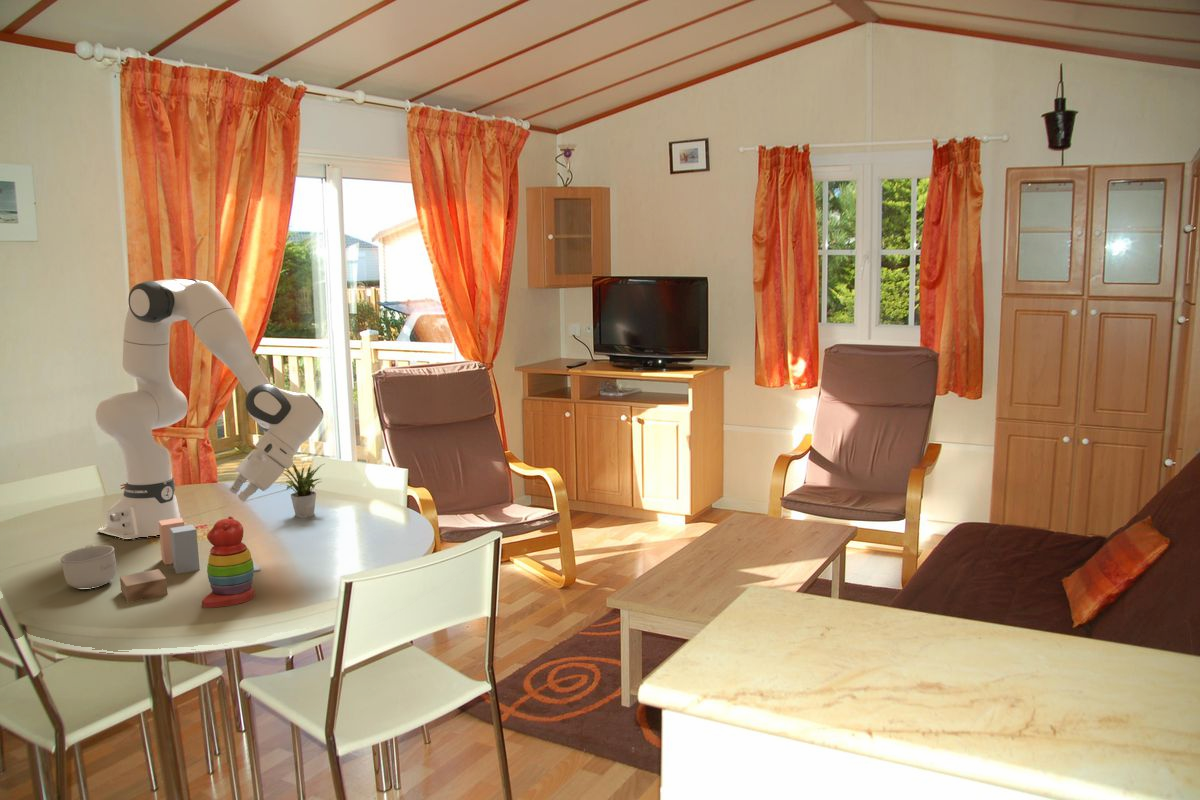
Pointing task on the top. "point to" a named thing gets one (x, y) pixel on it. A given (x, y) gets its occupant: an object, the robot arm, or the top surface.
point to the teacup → (89, 566)
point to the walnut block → (143, 585)
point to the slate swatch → (256, 568)
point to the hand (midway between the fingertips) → (236, 495)
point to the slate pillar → (184, 549)
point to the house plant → (303, 492)
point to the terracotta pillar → (167, 537)
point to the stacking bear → (228, 566)
